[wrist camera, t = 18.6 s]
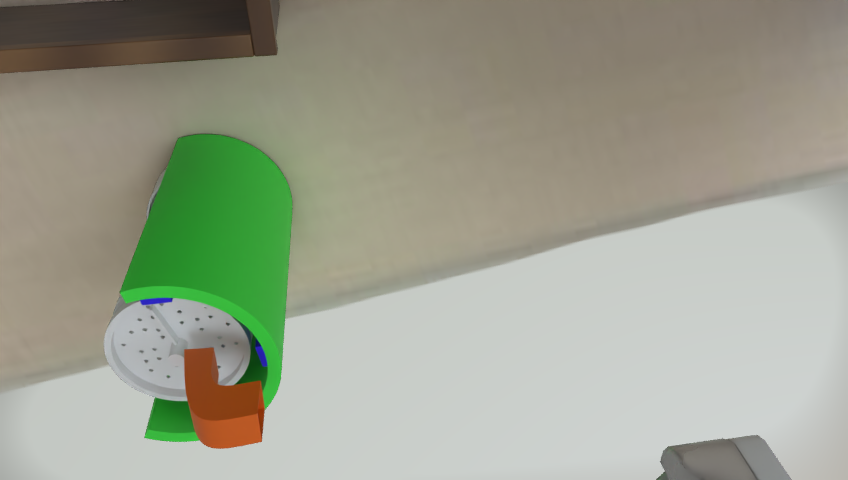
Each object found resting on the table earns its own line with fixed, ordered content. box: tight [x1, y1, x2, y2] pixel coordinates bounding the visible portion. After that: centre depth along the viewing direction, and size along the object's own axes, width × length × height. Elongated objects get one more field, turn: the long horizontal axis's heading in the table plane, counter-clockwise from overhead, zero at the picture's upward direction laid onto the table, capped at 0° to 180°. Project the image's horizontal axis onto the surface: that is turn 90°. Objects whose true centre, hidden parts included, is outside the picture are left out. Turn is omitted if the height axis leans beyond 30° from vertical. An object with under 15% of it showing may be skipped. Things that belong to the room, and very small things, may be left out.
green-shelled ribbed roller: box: [104, 134, 292, 449], centre depth 36 cm, size 9×8×18 cm
